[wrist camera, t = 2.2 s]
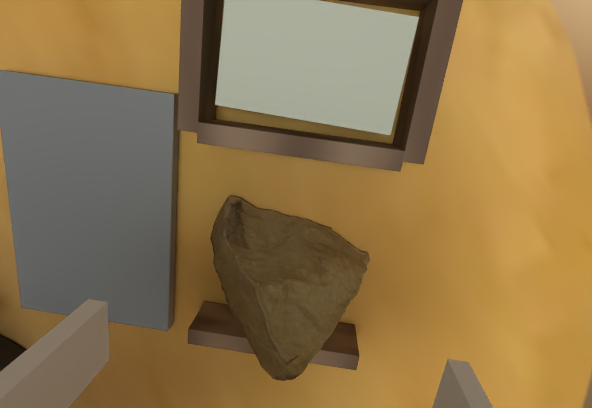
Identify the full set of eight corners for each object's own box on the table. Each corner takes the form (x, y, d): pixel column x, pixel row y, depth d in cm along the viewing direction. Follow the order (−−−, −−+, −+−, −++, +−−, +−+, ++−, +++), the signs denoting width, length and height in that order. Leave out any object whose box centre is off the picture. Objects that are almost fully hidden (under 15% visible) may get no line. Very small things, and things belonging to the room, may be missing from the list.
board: (31, 300, 29) (21, 307, 28) (7, 70, 23) (-7, 69, 22) (173, 323, 28) (167, 331, 27) (180, 94, 23) (174, 94, 22)
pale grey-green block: (226, 103, 23) (208, 103, 19) (236, 4, 22) (218, -17, 18) (378, 129, 23) (390, 135, 19) (401, 32, 21) (418, 16, 17)
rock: (163, 235, 24) (241, 355, 24) (172, 219, 16) (286, 396, 16) (285, 164, 28) (348, 266, 29) (338, 124, 20) (422, 265, 21)
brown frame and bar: (189, 312, 28) (171, 340, 24) (205, -40, 21) (183, -68, 17) (366, 339, 27) (373, 373, 24) (445, -10, 20) (470, -32, 17)
